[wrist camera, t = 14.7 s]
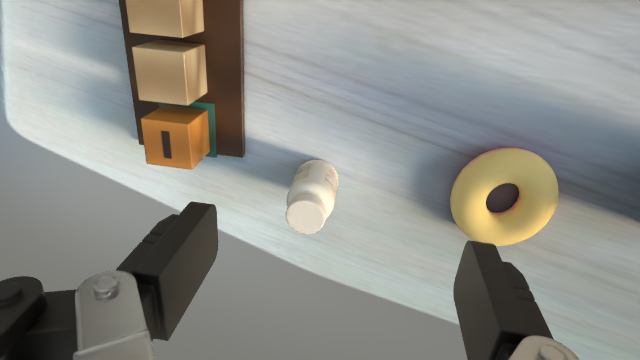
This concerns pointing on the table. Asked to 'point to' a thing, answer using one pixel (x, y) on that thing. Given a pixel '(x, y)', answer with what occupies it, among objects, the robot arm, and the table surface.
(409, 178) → the table surface
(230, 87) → the board
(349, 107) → the table surface
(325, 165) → the pill bottle
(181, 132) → the orange slotted cube
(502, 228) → the donut
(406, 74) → the table surface
